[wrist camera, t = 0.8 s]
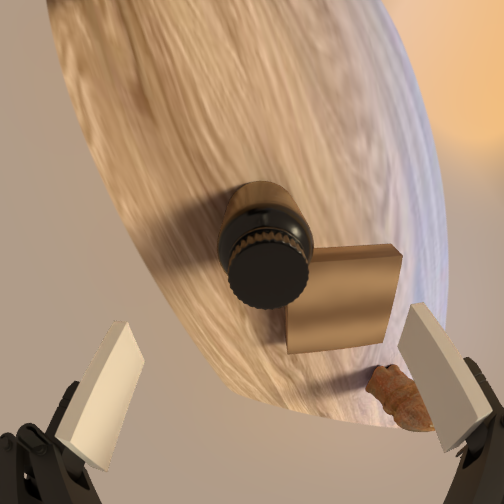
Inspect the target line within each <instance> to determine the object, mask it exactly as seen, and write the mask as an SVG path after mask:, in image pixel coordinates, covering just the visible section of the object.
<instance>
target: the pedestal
mask: <svg viewBox="0 0 504 504" xmlns="http://www.w3.org/2000/svg"><path fill="white" fill-rule="evenodd" d="M402 258H403V255H402V254H401V253H400V252H399V251H398V250H397V249H396V248H395V247H394V246H393V245H392V244H378V245H362V246H346V247H330V248H314V252H313V257H312V260H311V263H310V265H309V267H308V268H309V275H308V276H309V280H308V281H307V286H306V287H305V288H304V291H303V293H301V294H300V296H299V297H298V298H297V299H295V300H294V302H292V303H289V304H288V305H287V306H285V319H286V345H287V354H299V353H310V352H320V351H329V350H337V349H345V348H352V347H359V346H366V345H372V344H378V343H383V340H384V336H385V333H386V329H387V325H388V322H389V318H390V314H391V310H392V306H393V302H394V298H395V293H396V289H397V284H398V279H399V274H400V269H401V263H402Z"/></svg>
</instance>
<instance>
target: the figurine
mask: <svg viewBox="0 0 504 504" xmlns="http://www.w3.org/2000/svg"><path fill="white" fill-rule="evenodd" d="M365 390H366V391H367V392H368V393H371V394H372V395H373V396H374V397H375V398H376V399H378V400H379V401H380V402H381V404H382V406H383V409H384V411H385V412H386V413H387V414H389V415H392V416H394V417H393V418H394V421H395V422H396V423H397V425H398V426H400V427H401V428H403V429H405V430H408V431H413V432H429V431H435V428H434V425H433V423H432V420H431V418H430V416H429V413H428V411H427V408H426V406H425V404H424V402H423V399H422V397H421V395H420V393H419V390H418V388H417V386H416V384H415V382H414V381H413V380H412V379H410V378H408V377H407V376H406V375H405V374H404V373H403V372H401V371H400V369H399V367H398V366H397V365H391V366H389V368H388V369H386V368H385V367H384V366H379V367H377V368H376V369H375V370H374V373H373V375H372V377H371V379H370V381H369V382H368V384H367V386H366V388H365Z"/></svg>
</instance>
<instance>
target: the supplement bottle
mask: <svg viewBox="0 0 504 504" xmlns="http://www.w3.org/2000/svg"><path fill="white" fill-rule="evenodd" d="M313 252H314V241H313V236H312V233H311V230H310V227H309V225H308V223H307V222H306V220H305V218H304V216H303V215H302V213H301V211H300V209H299V208H298V206H297V204H296V202H295V201H294V199H293V198H292V196H291V195H290V194H289V192H288V191H286V190H285V189H284V188H283V187H281V186H280V185H278V184H275V183H272V182H268V181H256V182H252V183H249V184H246V185H244V186H243V187H241V188H240V189H238V190H237V191H236V192H235V193H234V194H233V196H232V197H231V199H230V201H229V203H228V205H227V208H226V211H225V215H224V218H223V222H222V225H221V229H220V232H219V236H218V241H217V254H218V259H219V262H220V265H221V267H222V269H223V270H224V272H225V273H226V274H227V276H228V282H229V283H230V288H231V289H232V290H233V293H234V294H235V295H236V296H237V297H238V299H239V300H241V301H243V303H244V304H248V305H249V306H250V307H255V308H257V309H264V310H266V309H275V308H281V307H282V306H287V305H288V304H289V303H292V302H294V300H295V299H297V298H298V297H299V296H300V294H301V293H303V291H304V288H305V287H306V286H307V281H308V280H309V276H308V275H309V268H308V267H309V265H310V263H311V260H312V257H313Z"/></svg>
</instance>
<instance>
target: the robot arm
mask: <svg viewBox="0 0 504 504" xmlns="http://www.w3.org/2000/svg"><path fill="white" fill-rule="evenodd" d="M397 347H398V349H399V351H400V353H401V355H402V357H403V359H404V361H405V363H406V365H407V367H408V369H409V371H410V373H411V375H412V377H413V379H414V382H415V384H416V386H417V388H418V390H419V393H420V395H421V397H422V399H423V402H424V404H425V406H426V408H427V411H428V413H429V416H430V418H431V420H432V423H433V425H434V428H435V430H436V433H437V435H438V438H439V440H440V443H441V446H442V448H443V451H444V453H445V452H448V451H450V450H452V449H454V448H456V447H458V446H459V445H460V444H461V443H462V442H463V441H464V440H466V442H467V444H466V446H464V447H463V448H462V449H461V450H460V451H459V452H458V453H457V455H456V457H458V456H459V455H460V454H462V453H463V454H462V456H461V457H460V458H461V460H460V463H459V466H458V468H457V472H456V474H455V477H454V479H453V482H452V484H451V487H450V489H449V491H448V494H447V496H446V498H445V501H444V503H443V504H504V408H503V407H502V405H501V404H500V402H499V400H498V398H497V397H496V395H495V393H494V392H493V390H492V388H491V386H490V385H489V383H488V381H486V378H485V376H484V375H483V374H482V372H481V370H480V368H479V367H478V365H477V364H476V363H475V362H474V361H473V360H472V359H470V358H469V357H466V358H462V357H461V355H460V353H459V352H458V350H457V349H456V347H455V346H454V344H453V343H452V342H451V340H450V339H449V337H448V335H447V334H446V333H445V331H444V330H443V328H442V327H441V325H440V324H439V323H438V321H437V320H436V318H435V317H434V316H433V314H432V313H431V311H430V310H429V309H428V307H427V306H426V305H425V303H424V302H422V303H416V304H411V305H410V309H409V312H408V316H407V319H406V322H405V325H404V329H403V332H402V335H401V338H400V341H399V344H398V346H397ZM144 363H145V361H144V359H143V356H142V354H141V352H140V350H139V348H138V345H137V343H136V341H135V339H134V336H133V334H132V332H131V329H130V327H129V324H128V322H122V321H114V322H113V324H112V325H111V327H110V329H109V331H108V332H107V334H106V336H105V338H104V339H103V341H102V343H101V345H100V346H99V348H98V350H97V352H96V353H95V355H94V357H93V359H92V361H91V363H90V364H89V366H88V368H87V370H86V372H85V374H84V376H83V378H82V380H81V381H80V382H78V381H74V382H73V383H72V384H71V385H70V386H69V387H68V388H67V390H66V392H65V394H64V395H63V399H62V400H61V401H60V403H59V407H57V410H56V411H55V414H54V416H53V418H52V420H51V422H50V424H49V426H48V428H47V430H46V432H45V434H44V433H43V432H42V431H41V430H40V429H39V428H38V427H37V426H36V425H35V424H32V423H26V424H24V425H23V426H21V427H20V428H19V430H18V432H17V434H16V437H15V436H14V435H13V434H11V433H4V434H2V435H1V436H0V504H102V503H101V501H100V499H99V497H98V495H97V493H96V490H95V488H94V486H93V484H92V482H91V479H90V477H89V475H88V473H87V470H86V469H85V467H84V464H85V462H86V463H87V464H88V465H90V466H91V467H93V468H96V469H99V470H102V471H105V472H107V471H108V468H109V465H110V461H111V458H112V455H113V451H114V448H115V445H116V442H117V439H118V436H119V433H120V430H121V427H122V424H123V421H124V418H125V415H126V412H127V409H128V406H129V403H130V401H131V398H132V395H133V392H134V390H135V387H136V384H137V381H138V379H139V376H140V373H141V371H142V368H143V365H144ZM24 473H26V474H27V478H26V479H25V478H24Z"/></svg>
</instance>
